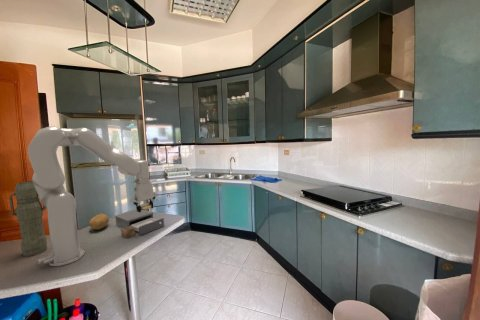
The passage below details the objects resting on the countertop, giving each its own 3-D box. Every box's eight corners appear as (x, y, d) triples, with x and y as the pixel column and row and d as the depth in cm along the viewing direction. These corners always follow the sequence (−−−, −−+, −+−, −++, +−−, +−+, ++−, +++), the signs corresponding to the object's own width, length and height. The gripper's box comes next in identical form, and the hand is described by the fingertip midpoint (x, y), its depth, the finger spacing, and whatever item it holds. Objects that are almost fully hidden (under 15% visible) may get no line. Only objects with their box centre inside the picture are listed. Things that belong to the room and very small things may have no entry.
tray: (140, 235, 114) (139, 227, 114) (126, 229, 124) (125, 221, 123) (164, 225, 126) (164, 218, 126) (150, 220, 136) (149, 213, 136)
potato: (85, 234, 119) (84, 221, 118) (94, 225, 132) (93, 213, 131) (105, 231, 122) (103, 218, 121) (111, 223, 135) (110, 211, 134)
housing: (128, 231, 121) (127, 221, 121) (116, 225, 131) (115, 215, 130) (153, 221, 134) (152, 212, 134) (140, 217, 144) (140, 208, 143)
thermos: (51, 250, 102) (42, 181, 99) (17, 260, 94) (5, 185, 91) (51, 243, 109) (43, 179, 105) (19, 252, 101) (8, 183, 97)
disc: (142, 211, 119) (142, 208, 119) (136, 208, 123) (136, 205, 123) (153, 207, 125) (153, 204, 124) (147, 205, 129) (147, 202, 128)
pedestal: (126, 238, 112) (125, 231, 112) (121, 236, 115) (121, 229, 115) (135, 234, 116) (134, 228, 116) (130, 232, 119) (130, 226, 119)
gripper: (131, 184, 113) (134, 215, 115) (159, 178, 127) (161, 206, 129) (124, 183, 117) (127, 213, 119) (152, 177, 131) (155, 204, 133)
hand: (145, 209), depth 124 cm, fingers closed on disc, 7 cm apart
